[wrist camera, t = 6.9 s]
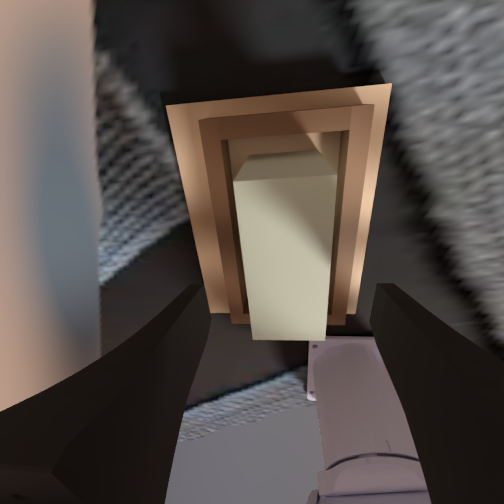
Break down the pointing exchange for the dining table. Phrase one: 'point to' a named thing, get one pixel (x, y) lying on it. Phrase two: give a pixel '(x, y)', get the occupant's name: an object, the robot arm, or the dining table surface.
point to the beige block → (286, 242)
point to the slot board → (276, 141)
